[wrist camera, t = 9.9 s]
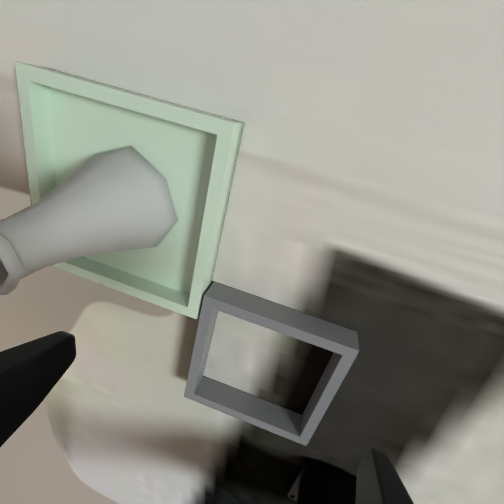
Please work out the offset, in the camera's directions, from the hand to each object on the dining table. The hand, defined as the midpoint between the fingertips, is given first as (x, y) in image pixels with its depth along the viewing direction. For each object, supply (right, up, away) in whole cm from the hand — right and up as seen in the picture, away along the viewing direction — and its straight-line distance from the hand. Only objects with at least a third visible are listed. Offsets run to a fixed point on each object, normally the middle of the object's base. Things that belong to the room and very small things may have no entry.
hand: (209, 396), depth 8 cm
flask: (-7, +8, +12) cm, 16 cm away
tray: (-7, +8, +13) cm, 17 cm away
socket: (+2, -5, +16) cm, 16 cm away
